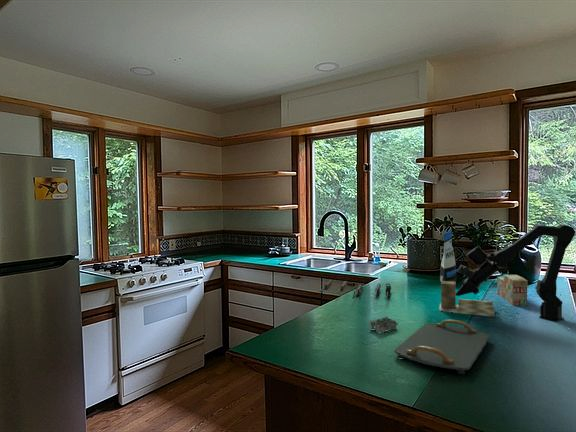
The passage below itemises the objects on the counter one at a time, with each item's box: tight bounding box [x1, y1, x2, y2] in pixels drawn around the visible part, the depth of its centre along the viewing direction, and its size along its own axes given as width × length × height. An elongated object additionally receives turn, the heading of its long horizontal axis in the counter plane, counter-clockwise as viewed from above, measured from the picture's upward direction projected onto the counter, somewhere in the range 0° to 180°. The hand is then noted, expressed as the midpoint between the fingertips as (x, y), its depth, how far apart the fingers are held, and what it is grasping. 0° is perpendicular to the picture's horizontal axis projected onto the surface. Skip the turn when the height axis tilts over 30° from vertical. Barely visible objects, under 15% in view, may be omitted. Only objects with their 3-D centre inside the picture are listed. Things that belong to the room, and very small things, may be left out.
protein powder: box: [439, 229, 458, 283], centre depth 229 cm, size 10×24×30 cm, turn 147°
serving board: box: [393, 319, 491, 376], centre depth 126 cm, size 39×23×6 cm, turn 142°
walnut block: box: [440, 281, 457, 309], centre depth 171 cm, size 6×6×11 cm
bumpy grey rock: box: [368, 316, 399, 333], centre depth 147 cm, size 11×8×4 cm
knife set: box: [318, 279, 392, 300], centre depth 198 cm, size 35×33×8 cm
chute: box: [438, 298, 496, 317], centre depth 168 cm, size 22×10×4 cm, turn 66°
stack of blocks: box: [496, 274, 529, 307], centre depth 184 cm, size 21×6×12 cm, turn 168°
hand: (456, 295), depth 170 cm, fingers closed
